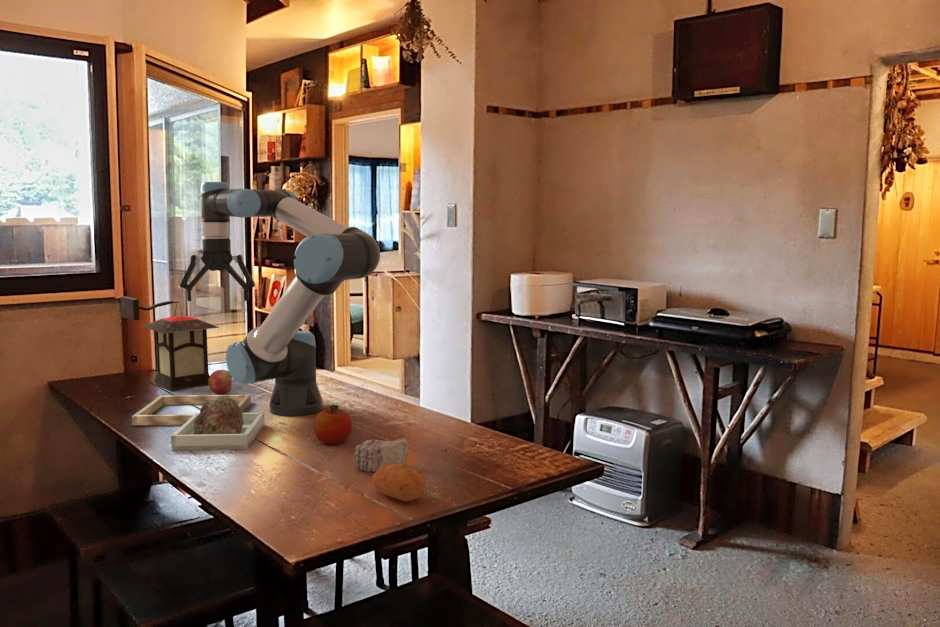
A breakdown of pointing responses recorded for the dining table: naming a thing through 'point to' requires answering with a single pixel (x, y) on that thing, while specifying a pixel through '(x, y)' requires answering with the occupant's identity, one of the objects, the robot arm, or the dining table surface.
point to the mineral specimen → (380, 454)
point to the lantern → (175, 346)
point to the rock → (219, 418)
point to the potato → (399, 482)
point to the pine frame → (147, 419)
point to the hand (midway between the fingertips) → (218, 312)
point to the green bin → (218, 435)
